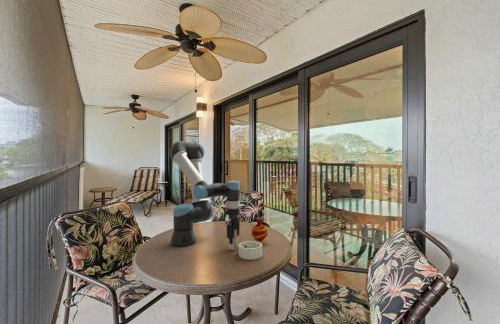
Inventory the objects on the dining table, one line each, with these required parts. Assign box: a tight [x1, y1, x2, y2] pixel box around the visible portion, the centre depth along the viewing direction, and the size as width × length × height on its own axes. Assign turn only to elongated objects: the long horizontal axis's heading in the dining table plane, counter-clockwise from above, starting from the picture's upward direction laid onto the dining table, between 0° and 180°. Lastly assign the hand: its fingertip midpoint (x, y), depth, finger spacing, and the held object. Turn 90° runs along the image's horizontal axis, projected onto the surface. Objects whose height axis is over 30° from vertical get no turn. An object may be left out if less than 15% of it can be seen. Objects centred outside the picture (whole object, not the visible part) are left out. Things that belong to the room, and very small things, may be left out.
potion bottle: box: [251, 217, 269, 245], centre depth 157 cm, size 10×10×15 cm
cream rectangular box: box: [233, 229, 238, 251], centre depth 147 cm, size 4×2×11 cm, turn 66°
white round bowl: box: [238, 240, 263, 261], centre depth 137 cm, size 13×13×6 cm
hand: (233, 248), depth 147 cm, fingers open, 4 cm apart
